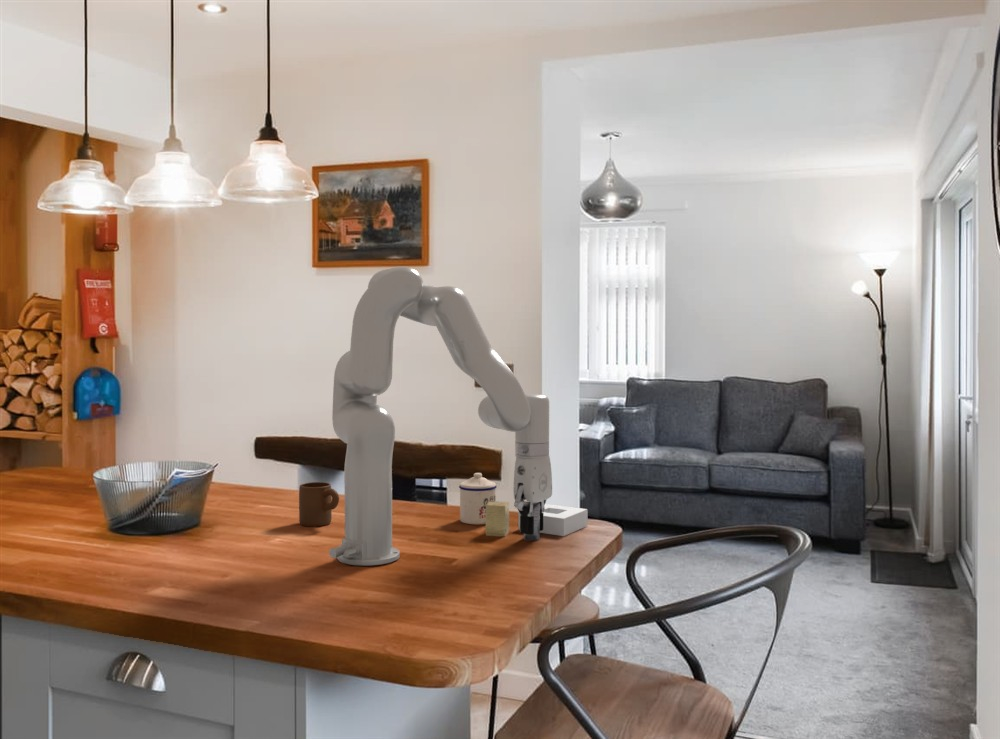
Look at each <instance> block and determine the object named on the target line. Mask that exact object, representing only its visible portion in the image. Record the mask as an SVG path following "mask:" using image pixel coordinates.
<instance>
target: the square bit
mask: <svg viewBox="0 0 1000 739" xmlns="http://www.w3.org/2000/svg"><path fill="white" fill-rule="evenodd" d="M509 533H510V502H509V501H490V502H489V503H487V504H486V524H485V537H486V536H487V537H488V536H489V537H504V538H505V537H506V536H507V535H508V534H509Z"/></svg>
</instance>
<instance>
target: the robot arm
mask: <svg viewBox="0 0 1000 739" xmlns="http://www.w3.org/2000/svg"><path fill="white" fill-rule="evenodd" d="M400 317H402V318H406V319H407V320H411V321H414V322H416V323H420V324H424V325H426V326H429V327H430V326H432V327H436V328H437V331H438V332H439V335H440V336H441V338H442V340H443V342H444V345H445V346H446V348H447V350H448V351H449V354H450V356H451V359H452V360H453V362H454V364H455V365H456V366H457V367H458V368H459V369H460V370H461V371H462V372H463V373H465V374H466V375H467V376H469V377H470V378H472V379H473V380H474V381H475V382H476V383H477V384H478V385H479V386H480V387H481V388H482V390H483V391H484V392H485V393H486V396H485V397H484V398H483V399H481V401H480V403H479V405H478V409H477V413H478V416H479V419H480V420H481V421H482V423H483V424H484V425H486V426H488V427H490V428H494V429H497V430H502V431H507V432H513V433H514V434H515V435H514V438H515V439H514V442H515V444H514V445H515V446H514V447H515V449H514V450H515V451H514V452H515V453H514V454H515V455H514V456H515V462H514V472H513V500H514V503H513V507H514V508H516V509H517V511H518V512H519V515H520V530H519V533H520V534H523V535H524V534H530V535H532V534H534V516H532V510H533V504H535V503H538V502H539V503H540V531H542V530H543V513H542V512H544V510H545V507H544V505H545V504H547V500H548V499H551V497H552V495H553V476H552V464H551V457H550V400H549V397H548V396H547V395H545V394H541V393H525V392H524V390H523V388H522V386H521V383H520V382H519V380H518V378H517V377H516V375H515V374H514V372H513V371H512V370H511V368H510V367H509V366H508V365H507V363H506V362H505V361H504V360H503V359H502V358H501V355H499V354H498V352H496V350H495V349H494V348H493V346H492V345H491V343H490V341H489V340H488V338H487V336H486V334H485V331H484V330H483V327H482V326H481V324H480V321H479V319H478V317H477V315H476V313H475V311H474V309H473V307H472V305H471V303H470V300H469V299H468V297H467V295H466V294H465V293H464V291H463V290H461V289H459V288H457V287H456V286H455V287H454V286H449V285H448V286H447V285H446V286H433V285H430V284H429V285H428V284H426V283H424V281H423V278H422V276H421V274H420V273H419V272H418V270H416V269H414V268H413V267H409V266H395V267H390V268H386V269H382V270H380V271H377V272H376V273H374V274H373V275H372V277H371V278H370V279H369V281H368V285H367V289H366V290H365V291H364V293H363V294H362V295H361V297H360V298H359V301H358V303H357V305H356V307H355V311H354V314H353V319H352V324H351V325H352V327H351V334H350V336H351V337H350V348H349V350H348V351H346V352H345V353H344V354H343V355H342V356H341V357H340V358H339V360H338V361H337V363H336V367H335V368H334V374H333V375H334V376H333V393H332V415H331V416H332V417H331V418H332V428H333V431H334V433H335V435H336V436H337V437H338V439H340V440H341V441H342V442H343V443H344V444H346V452H345V460H344V470H343V471H344V472H343V473H344V477H343V478H344V482H343V483H344V538H341V544H340V545H339V546H335V547H332V548H330V549H329V552H328V554H329V557H330V558H332V559H336V558H337V561H339V562H340V563H342V564H345V565H350V566H360V567H361V566H364V567H365V566H367V567H368V566H378V565H386V564H391V563H393V562H395V561H397V560H399V558H400V557H401V556H400V555H401V551H400V550H399V549H398V548H396V547H393V475H392V474H393V472H392V471H393V468H392V467H393V454H394V453H393V452H394V447H395V446H394V445H395V438H396V426H395V422H394V420H393V417H392V415H391V414H390V413H389V411H387V409H385V408H384V407H382V406H381V405H379V404H377V401H378V397H377V396H380V395H382V394H384V393H385V392H386V391H388V389H389V387H390V386H391V383H392V379H393V363H394V362H393V355H394V354H393V353H394V338H395V329H396V326H397V322H398V320H399V318H400ZM525 500H526V501H525ZM524 504H525V505H528V508H527V507H526V506H524Z"/></svg>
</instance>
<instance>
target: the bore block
mask: <svg viewBox="0 0 1000 739" xmlns="http://www.w3.org/2000/svg"><path fill="white" fill-rule="evenodd" d="M544 507H545V510H544V512H542V513H543V530H542V531H540V534H546V535H554V536H561V537H565V536H568V535H570V534H572V533H574V532H577V531H579V530H581V529H584V528H586V527H588V516H589V515H588V513H589V511H588V509H587V508H582V507H572V506H566V505H565V506H564V505H558V504H557V505H556V504H549V503H545V505H544ZM517 516H518V520H517V521H518V525H517V527H518V530H519V531H520V515H519V511H518V514H517Z"/></svg>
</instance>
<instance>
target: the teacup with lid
mask: <svg viewBox="0 0 1000 739" xmlns="http://www.w3.org/2000/svg"><path fill="white" fill-rule="evenodd" d="M458 488H459V520H460V522H461V523H464V524H467V525H475V526H476V525H479V526H481V525H486V504H487V503H489V502H490V501H496V497H497V496H496V492H497V491H496V489H497V484H496V483H495V481H492V480H489V479H487V478H485V477H483V474H482V472H475V473H473V476H472V477H470V478H469V479H466V480H464V481H462V482H460V483H459V486H458Z"/></svg>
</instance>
